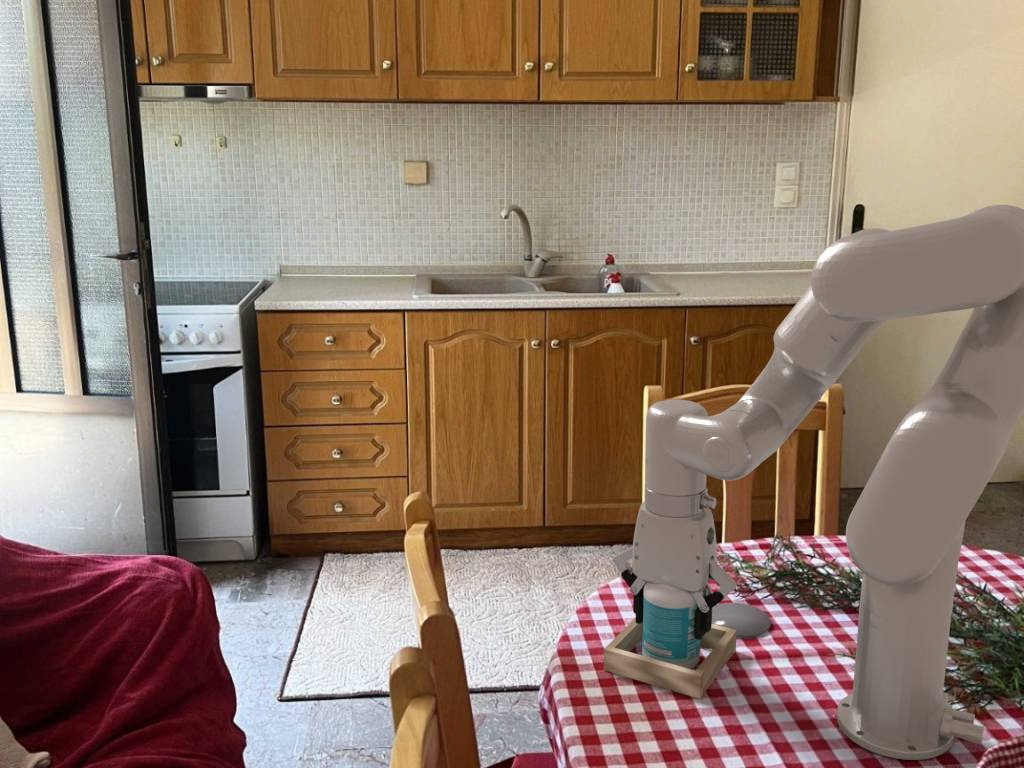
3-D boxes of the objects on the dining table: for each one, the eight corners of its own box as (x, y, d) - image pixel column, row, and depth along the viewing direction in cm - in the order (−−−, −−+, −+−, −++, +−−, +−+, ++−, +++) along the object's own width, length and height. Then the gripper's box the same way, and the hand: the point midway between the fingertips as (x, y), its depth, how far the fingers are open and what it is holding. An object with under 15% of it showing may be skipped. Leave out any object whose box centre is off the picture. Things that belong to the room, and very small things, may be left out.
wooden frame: (735, 650, 132) (736, 630, 131) (699, 698, 122) (700, 676, 121) (645, 626, 139) (646, 607, 138) (603, 670, 128) (603, 649, 127)
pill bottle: (699, 678, 126) (702, 580, 122) (639, 673, 127) (641, 576, 124) (700, 648, 133) (703, 554, 130) (644, 643, 135) (646, 551, 131)
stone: (778, 616, 141) (778, 612, 141) (757, 644, 134) (758, 640, 134) (717, 601, 146) (717, 597, 146) (694, 627, 138) (694, 623, 138)
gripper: (752, 502, 123) (746, 631, 128) (624, 478, 132) (623, 599, 137) (731, 523, 117) (726, 658, 121) (598, 496, 126) (598, 623, 130)
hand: (671, 626), depth 129 cm, fingers closed on pill bottle, 7 cm apart
